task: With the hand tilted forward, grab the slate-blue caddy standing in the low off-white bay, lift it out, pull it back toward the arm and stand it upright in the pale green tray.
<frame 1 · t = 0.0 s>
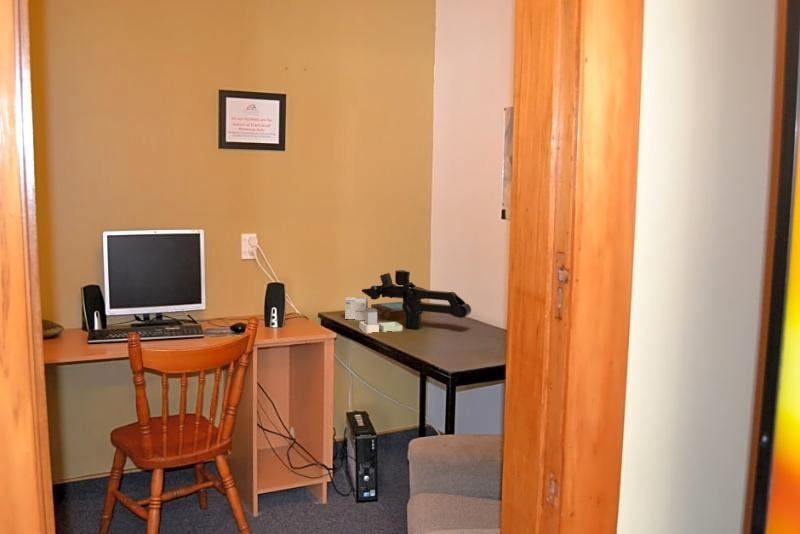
hand: (366, 289, 344), 17 cm above the table, tool horizontal, fingers open, 9 cm apart
tray: (389, 329, 332), on the table
light bulb box: (356, 319, 355), on the table
bay: (370, 330, 328), on the table
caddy: (371, 319, 328), in the bay
book: (395, 316, 368), on the table
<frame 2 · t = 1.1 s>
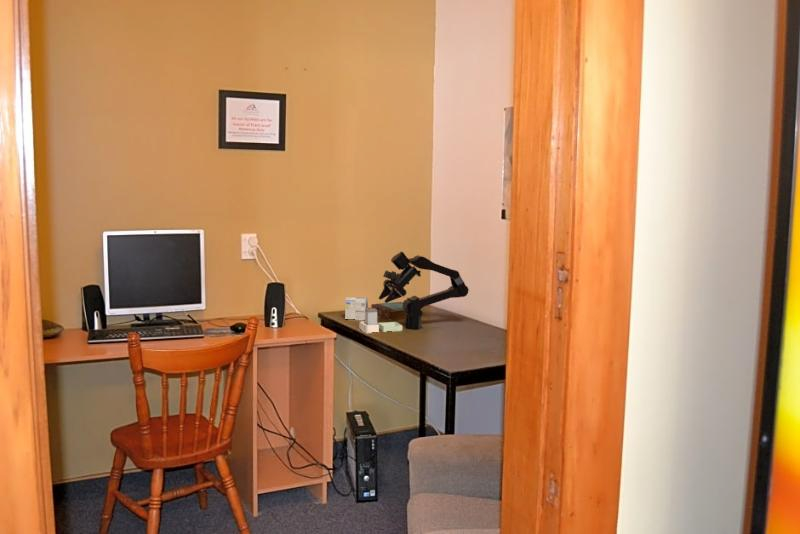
hand: (382, 300, 329), 14 cm above the table, tool tilted 45°, fingers open, 9 cm apart
nothing on the table moved.
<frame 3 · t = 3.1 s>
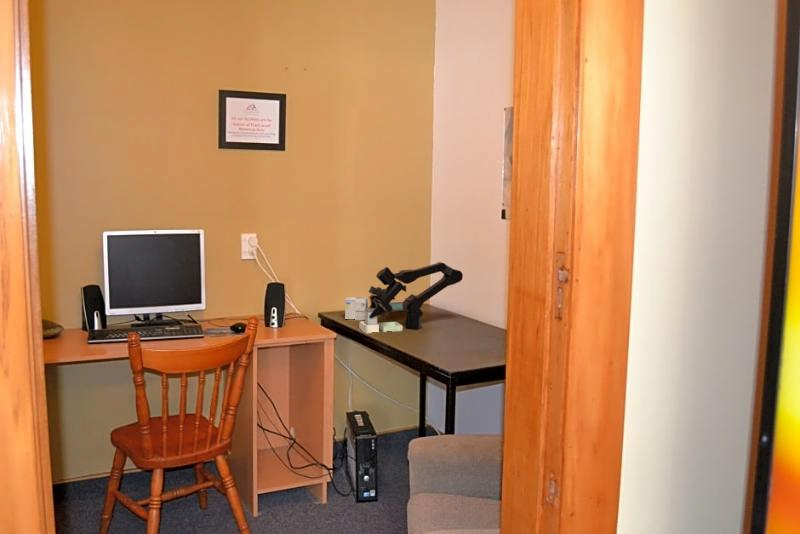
hand: (368, 316, 327), 7 cm above the table, tool tilted 45°, fingers closed on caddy, 5 cm apart
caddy: (370, 319, 328), in the bay, touching gripper
everything else where it was.
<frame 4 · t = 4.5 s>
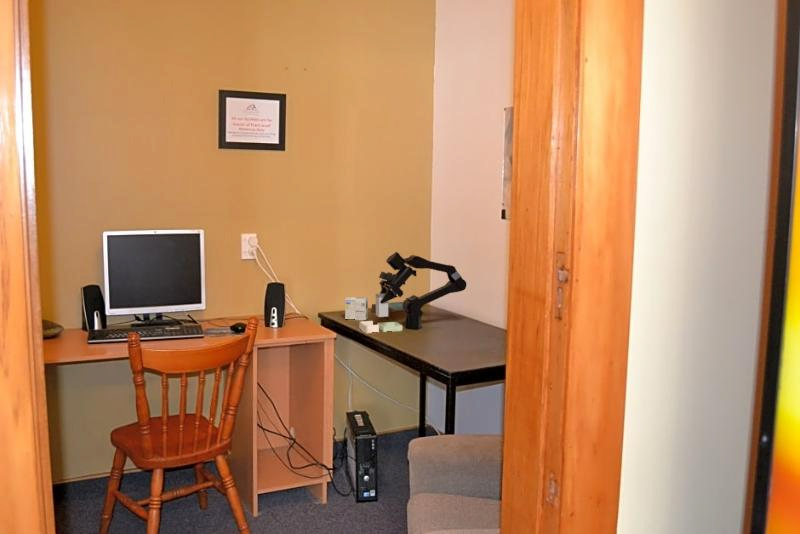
hand: (379, 301, 328), 13 cm above the table, tool tilted 45°, fingers closed on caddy, 5 cm apart
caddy: (381, 305, 329), point 12 cm above the table, touching gripper
everything else where it was.
when the fingers open (8 cm above the table, at t = 6.1 s): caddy drops 1 cm, resting on tray.
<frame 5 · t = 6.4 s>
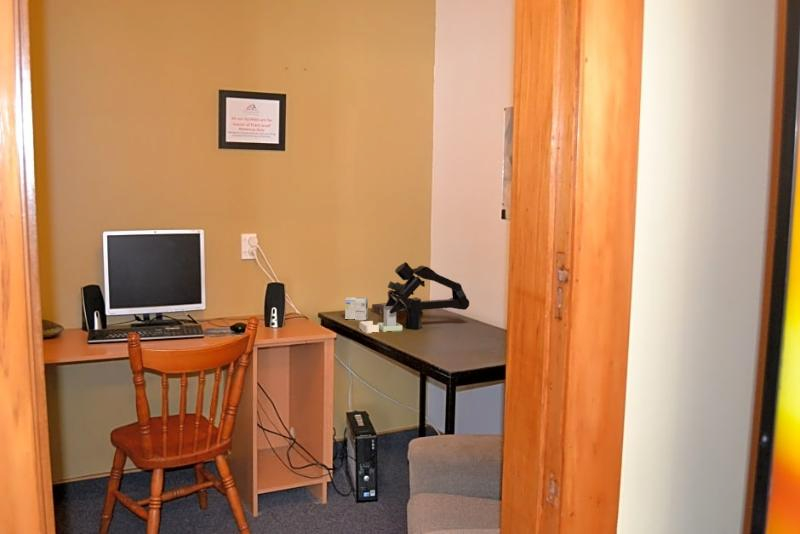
hand: (387, 311, 330), 9 cm above the table, tool tilted 45°, fingers open, 8 cm apart
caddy: (389, 317, 331), in the tray, point 6 cm above the table
everything else where it was.
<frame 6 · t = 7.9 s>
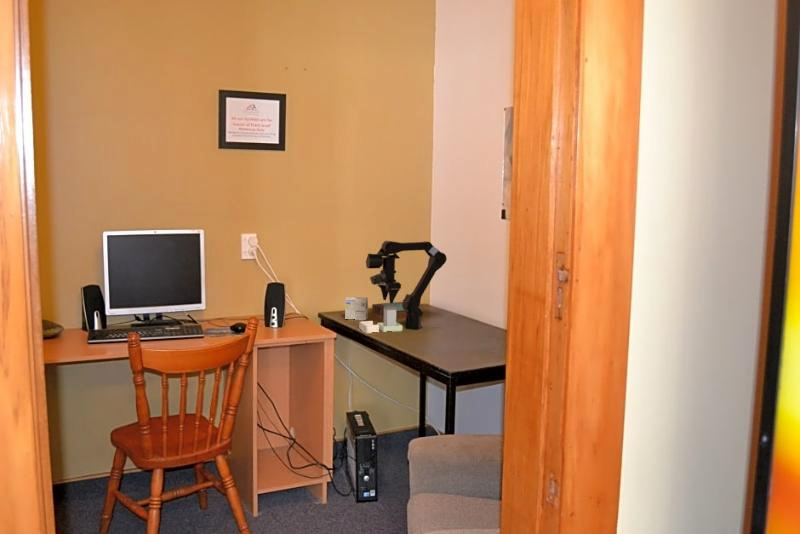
hand: (387, 301, 330), 13 cm above the table, tool pointing down, fingers open, 9 cm apart
nothing on the table moved.
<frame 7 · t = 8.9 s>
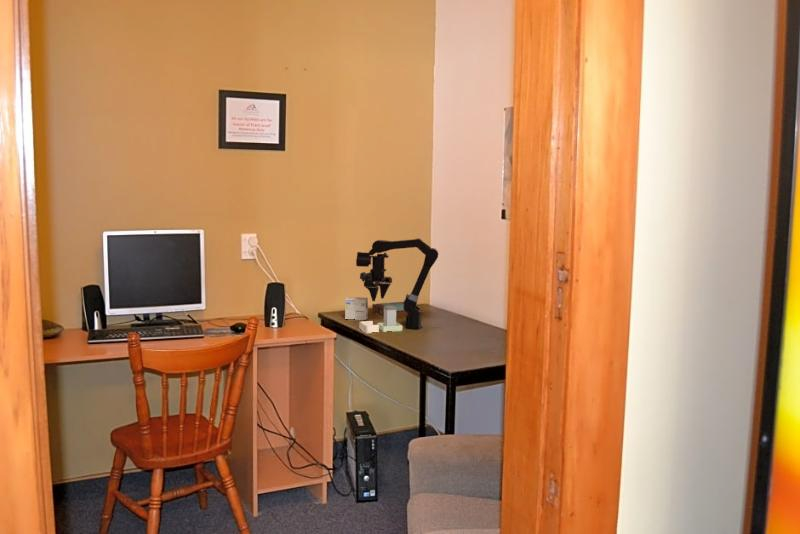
hand: (377, 299, 335), 13 cm above the table, tool pointing down, fingers open, 9 cm apart
nothing on the table moved.
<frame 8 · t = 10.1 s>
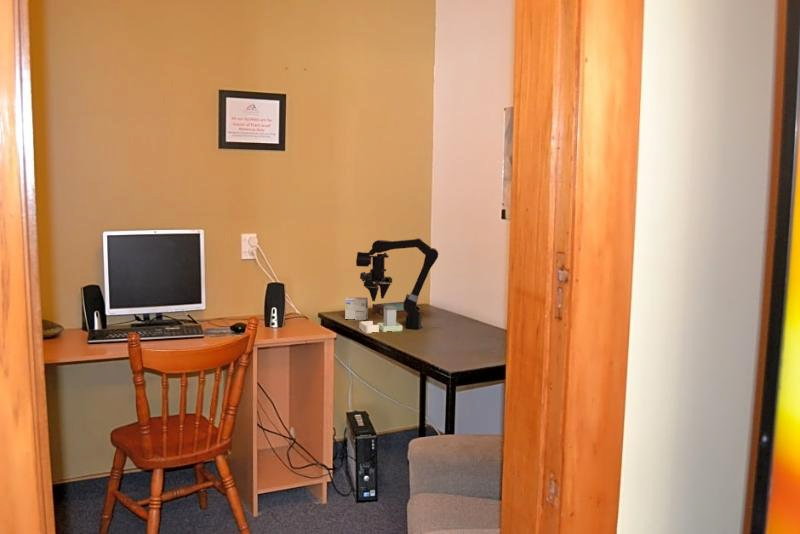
hand: (378, 299, 335), 13 cm above the table, tool pointing down, fingers open, 9 cm apart
nothing on the table moved.
at the end: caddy 0.0 cm off-centre on the tray, point 5.6 cm above the tray's base; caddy tilted 0°; the gripper is holding nothing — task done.
